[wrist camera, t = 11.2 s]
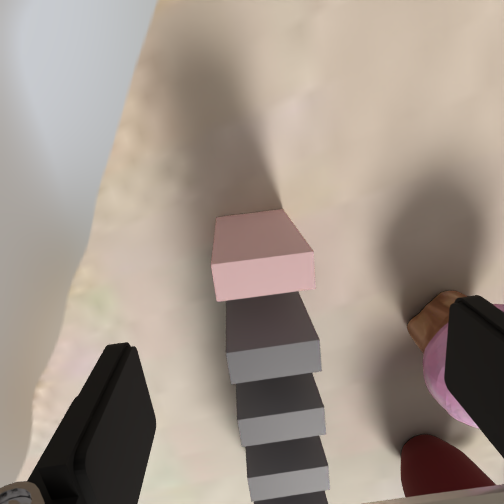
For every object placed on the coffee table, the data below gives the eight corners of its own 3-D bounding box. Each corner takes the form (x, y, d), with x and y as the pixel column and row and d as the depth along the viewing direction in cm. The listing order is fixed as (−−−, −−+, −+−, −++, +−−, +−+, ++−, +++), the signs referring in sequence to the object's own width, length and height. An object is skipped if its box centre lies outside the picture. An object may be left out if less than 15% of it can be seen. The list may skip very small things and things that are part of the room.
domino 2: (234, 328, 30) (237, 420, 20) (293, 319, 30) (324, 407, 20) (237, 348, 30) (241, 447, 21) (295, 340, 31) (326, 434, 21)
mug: (496, 431, 35) (594, 541, 26) (457, 490, 38) (534, 610, 28) (402, 409, 34) (471, 517, 24) (367, 471, 36) (417, 592, 27)
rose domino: (216, 217, 27) (210, 264, 17) (282, 208, 27) (313, 251, 17) (220, 242, 27) (216, 301, 18) (285, 234, 27) (315, 288, 18)
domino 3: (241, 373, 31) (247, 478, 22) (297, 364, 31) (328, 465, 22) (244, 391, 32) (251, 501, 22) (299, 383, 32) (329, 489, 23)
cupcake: (444, 252, 29) (550, 310, 19) (509, 310, 31) (632, 388, 22) (367, 329, 31) (430, 418, 21) (433, 379, 33) (517, 480, 23)
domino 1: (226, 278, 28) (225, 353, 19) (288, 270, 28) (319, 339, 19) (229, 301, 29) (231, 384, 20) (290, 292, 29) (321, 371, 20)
